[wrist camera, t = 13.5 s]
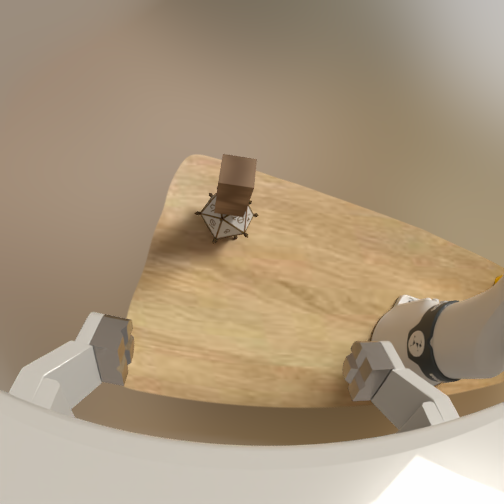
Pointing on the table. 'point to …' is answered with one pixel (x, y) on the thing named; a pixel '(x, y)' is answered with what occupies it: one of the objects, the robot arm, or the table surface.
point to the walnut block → (235, 185)
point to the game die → (225, 221)
